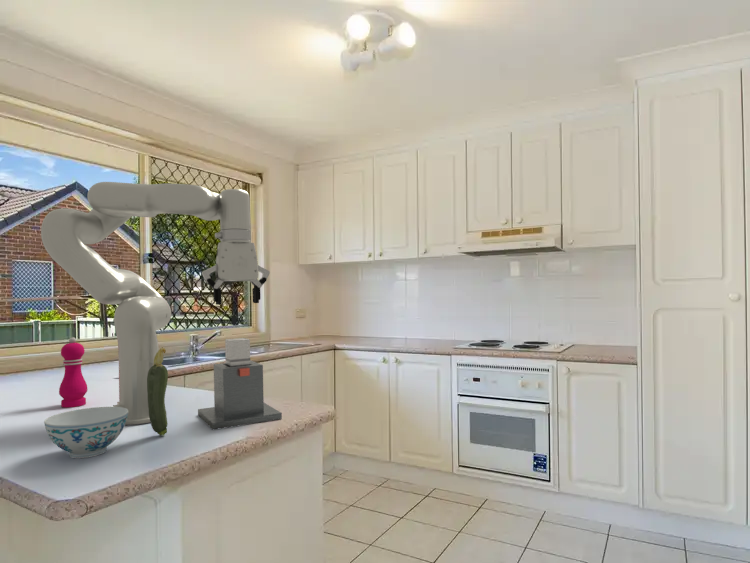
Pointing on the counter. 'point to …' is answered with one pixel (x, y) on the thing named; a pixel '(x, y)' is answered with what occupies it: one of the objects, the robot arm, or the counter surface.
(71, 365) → the pepper mill
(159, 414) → the vegetable
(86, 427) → the chinaware
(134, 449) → the counter surface
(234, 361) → the column
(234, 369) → the stand base
